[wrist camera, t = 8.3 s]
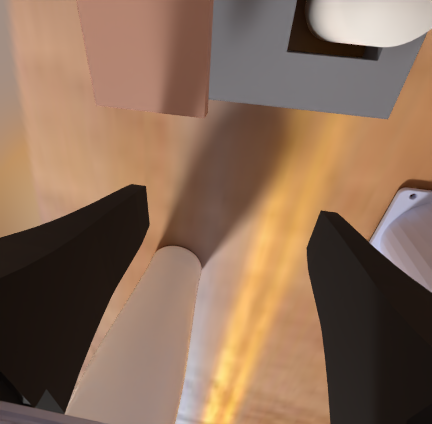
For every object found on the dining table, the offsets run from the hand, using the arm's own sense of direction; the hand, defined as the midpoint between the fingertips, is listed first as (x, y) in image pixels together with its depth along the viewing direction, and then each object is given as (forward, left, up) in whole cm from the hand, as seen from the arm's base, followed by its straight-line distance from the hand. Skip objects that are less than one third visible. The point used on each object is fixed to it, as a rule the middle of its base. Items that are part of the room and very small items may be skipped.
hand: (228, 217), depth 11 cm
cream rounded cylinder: (+5, +14, -10) cm, 18 cm away
